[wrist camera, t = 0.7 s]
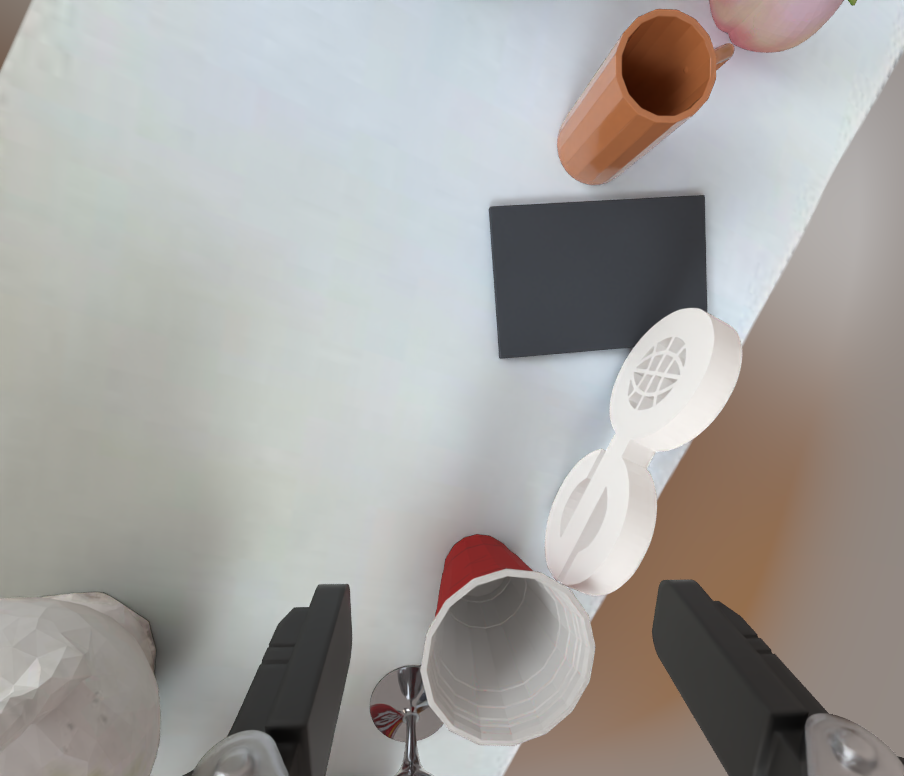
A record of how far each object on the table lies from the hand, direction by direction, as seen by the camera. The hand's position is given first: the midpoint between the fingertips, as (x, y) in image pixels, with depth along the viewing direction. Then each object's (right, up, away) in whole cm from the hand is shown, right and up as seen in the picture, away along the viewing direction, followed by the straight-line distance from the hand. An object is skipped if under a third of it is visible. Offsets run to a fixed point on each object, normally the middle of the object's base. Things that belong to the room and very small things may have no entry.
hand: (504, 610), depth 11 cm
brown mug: (+12, +26, +24) cm, 37 cm away
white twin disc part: (+11, +2, +26) cm, 29 cm away
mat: (+11, +15, +25) cm, 31 cm away
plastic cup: (+1, -9, +27) cm, 28 cm away
